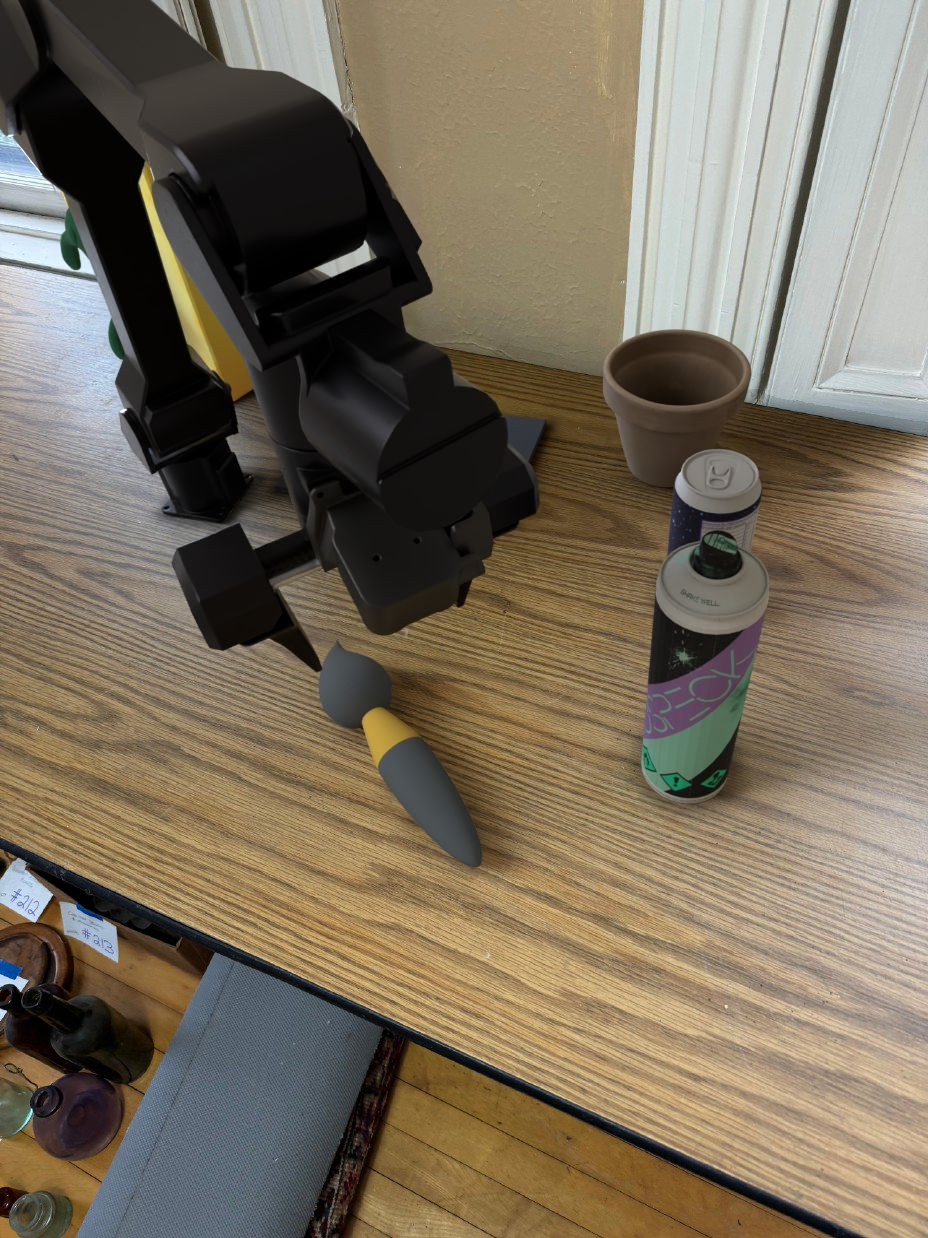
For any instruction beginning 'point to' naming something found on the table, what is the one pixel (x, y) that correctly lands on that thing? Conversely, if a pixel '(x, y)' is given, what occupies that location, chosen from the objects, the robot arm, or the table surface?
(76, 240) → the mottled yellow carton
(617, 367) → the flower pot
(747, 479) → the beverage can
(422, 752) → the paintbrush
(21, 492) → the table surface
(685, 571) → the spray can
